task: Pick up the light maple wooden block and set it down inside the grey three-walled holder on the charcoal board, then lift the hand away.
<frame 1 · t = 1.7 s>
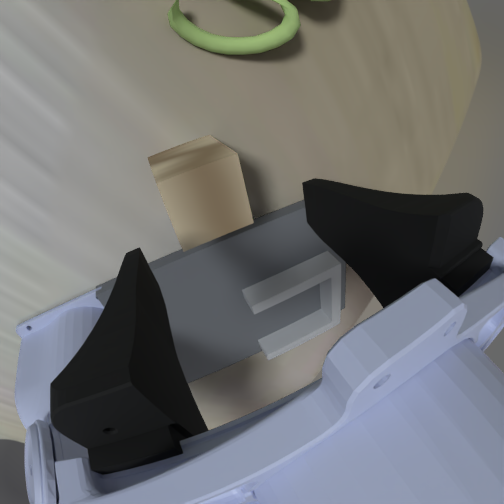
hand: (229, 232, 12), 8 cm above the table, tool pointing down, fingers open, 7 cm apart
connector block: (187, 174, 18), on the table
holder board: (242, 298, 26), on the table
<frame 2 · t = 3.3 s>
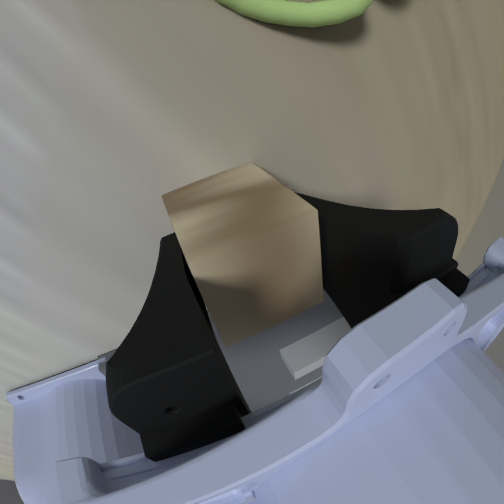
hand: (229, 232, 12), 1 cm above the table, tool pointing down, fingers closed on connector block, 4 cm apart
connector block: (219, 217, 13), on the table, touching gripper
holder board: (276, 354, 21), on the table
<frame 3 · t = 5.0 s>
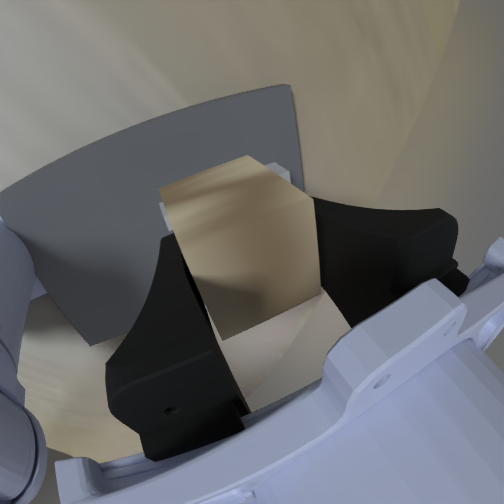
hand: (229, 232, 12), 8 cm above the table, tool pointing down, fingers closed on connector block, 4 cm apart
connector block: (216, 211, 13), point 7 cm above the table, touching gripper
holder board: (166, 222, 20), on the table
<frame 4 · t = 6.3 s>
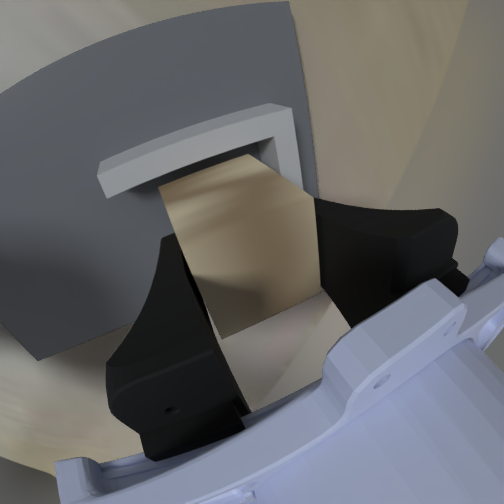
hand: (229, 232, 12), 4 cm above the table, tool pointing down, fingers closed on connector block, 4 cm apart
connector block: (216, 209, 13), point 2 cm above the table, touching gripper
holder board: (116, 193, 13), on the table
when the fingers open (4 cm above the table, at t = 7.0 s): connector block drops 1 cm, resting on holder board.
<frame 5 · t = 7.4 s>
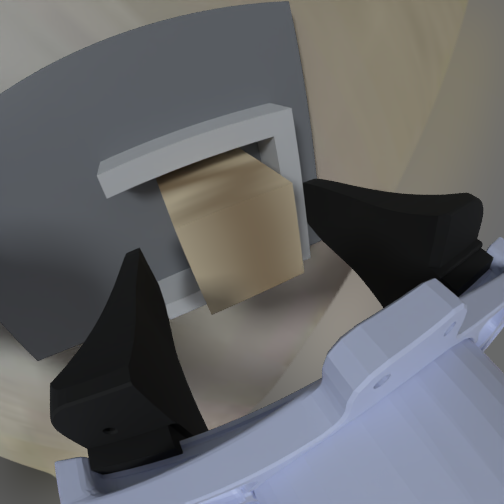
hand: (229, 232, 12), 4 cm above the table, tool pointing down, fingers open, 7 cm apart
connector block: (208, 199, 14), point 1 cm above the table, touching holder board
holder board: (116, 193, 13), on the table
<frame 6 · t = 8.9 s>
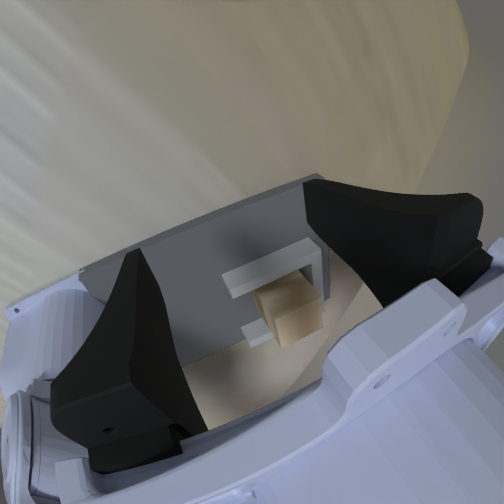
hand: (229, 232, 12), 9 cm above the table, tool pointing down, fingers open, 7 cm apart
connector block: (273, 286, 27), point 1 cm above the table, touching holder board
holder board: (223, 284, 26), on the table
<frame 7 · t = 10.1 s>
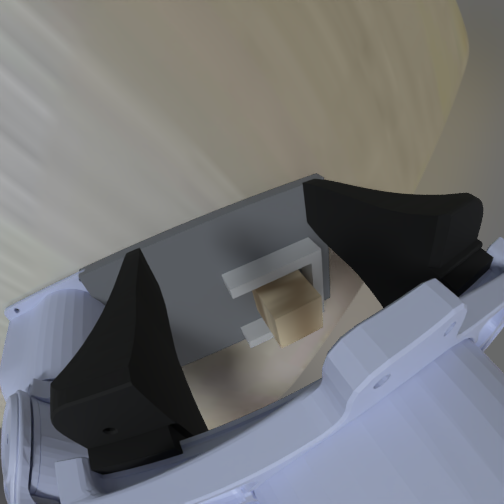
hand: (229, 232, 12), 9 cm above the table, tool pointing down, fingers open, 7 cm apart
connector block: (273, 286, 27), point 1 cm above the table, touching holder board
holder board: (223, 284, 26), on the table
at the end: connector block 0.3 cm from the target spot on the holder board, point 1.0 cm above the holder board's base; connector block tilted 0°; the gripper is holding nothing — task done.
